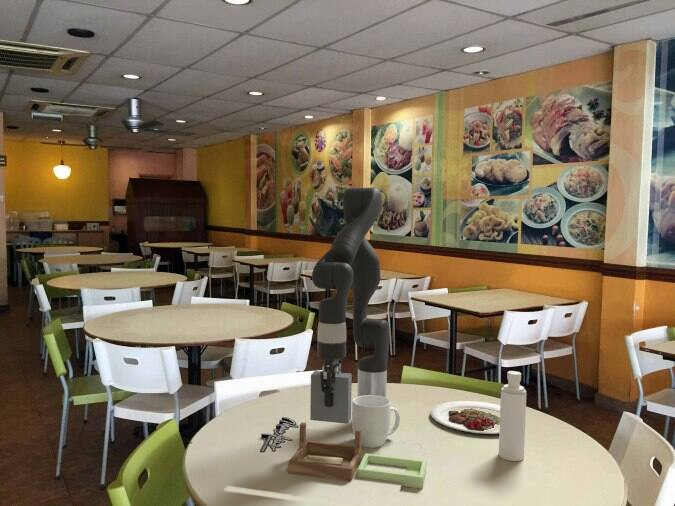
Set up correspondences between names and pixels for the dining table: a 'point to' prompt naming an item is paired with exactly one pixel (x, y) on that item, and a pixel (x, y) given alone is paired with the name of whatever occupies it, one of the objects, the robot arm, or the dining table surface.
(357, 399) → the mug
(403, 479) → the holder
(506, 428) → the white bottle
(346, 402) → the gray rectangular block
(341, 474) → the tray
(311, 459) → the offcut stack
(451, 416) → the plated food
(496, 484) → the dining table surface
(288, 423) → the nameplate
